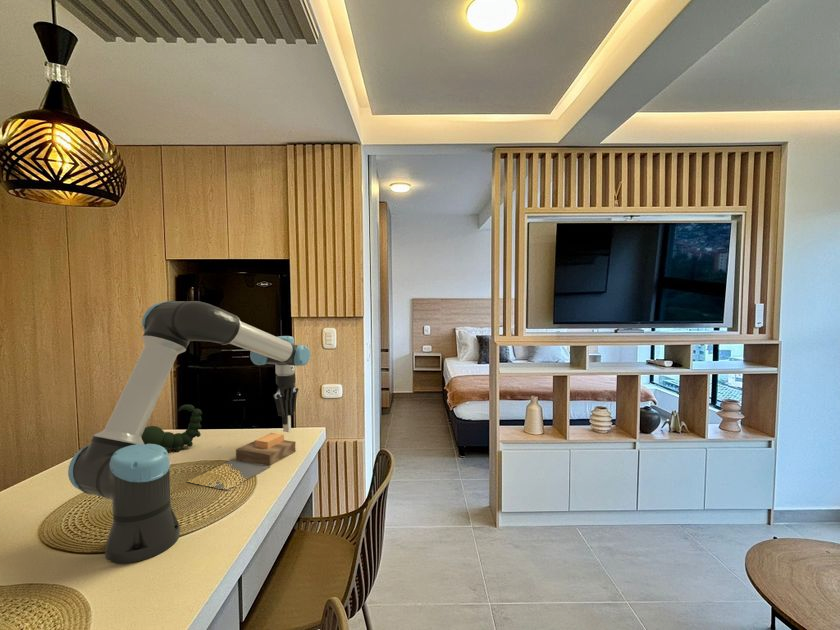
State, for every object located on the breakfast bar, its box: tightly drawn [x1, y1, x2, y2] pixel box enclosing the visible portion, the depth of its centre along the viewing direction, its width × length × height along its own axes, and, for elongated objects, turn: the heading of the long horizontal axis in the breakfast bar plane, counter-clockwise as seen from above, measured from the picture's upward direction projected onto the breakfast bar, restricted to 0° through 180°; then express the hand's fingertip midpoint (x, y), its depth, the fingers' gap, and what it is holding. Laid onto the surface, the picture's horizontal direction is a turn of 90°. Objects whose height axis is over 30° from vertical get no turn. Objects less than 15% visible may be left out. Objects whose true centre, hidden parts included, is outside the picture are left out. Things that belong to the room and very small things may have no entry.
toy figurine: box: [141, 404, 203, 452], centre depth 161 cm, size 9×19×25 cm
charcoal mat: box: [209, 459, 271, 491], centre depth 139 cm, size 19×18×1 cm
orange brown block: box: [254, 432, 285, 449], centre depth 157 cm, size 9×6×2 cm, turn 158°
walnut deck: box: [235, 439, 297, 467], centre depth 155 cm, size 14×16×4 cm
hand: (287, 431), depth 166 cm, fingers closed
